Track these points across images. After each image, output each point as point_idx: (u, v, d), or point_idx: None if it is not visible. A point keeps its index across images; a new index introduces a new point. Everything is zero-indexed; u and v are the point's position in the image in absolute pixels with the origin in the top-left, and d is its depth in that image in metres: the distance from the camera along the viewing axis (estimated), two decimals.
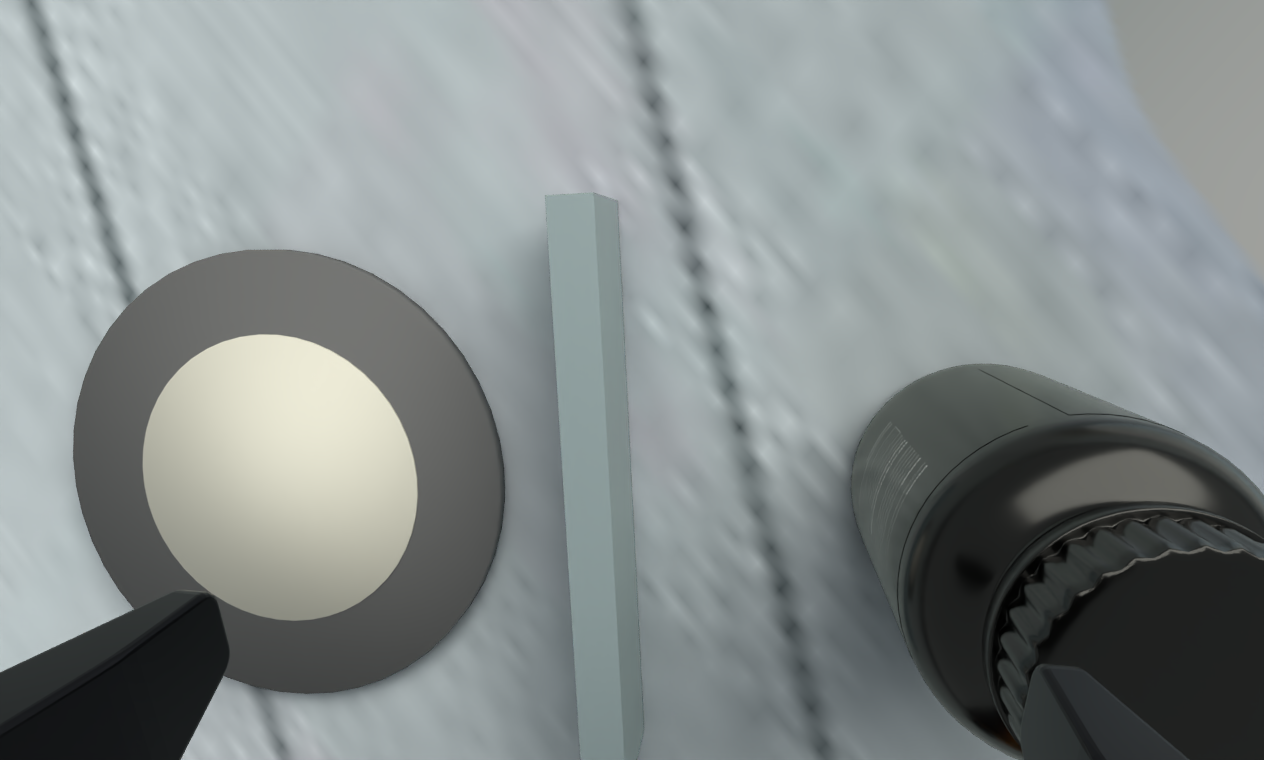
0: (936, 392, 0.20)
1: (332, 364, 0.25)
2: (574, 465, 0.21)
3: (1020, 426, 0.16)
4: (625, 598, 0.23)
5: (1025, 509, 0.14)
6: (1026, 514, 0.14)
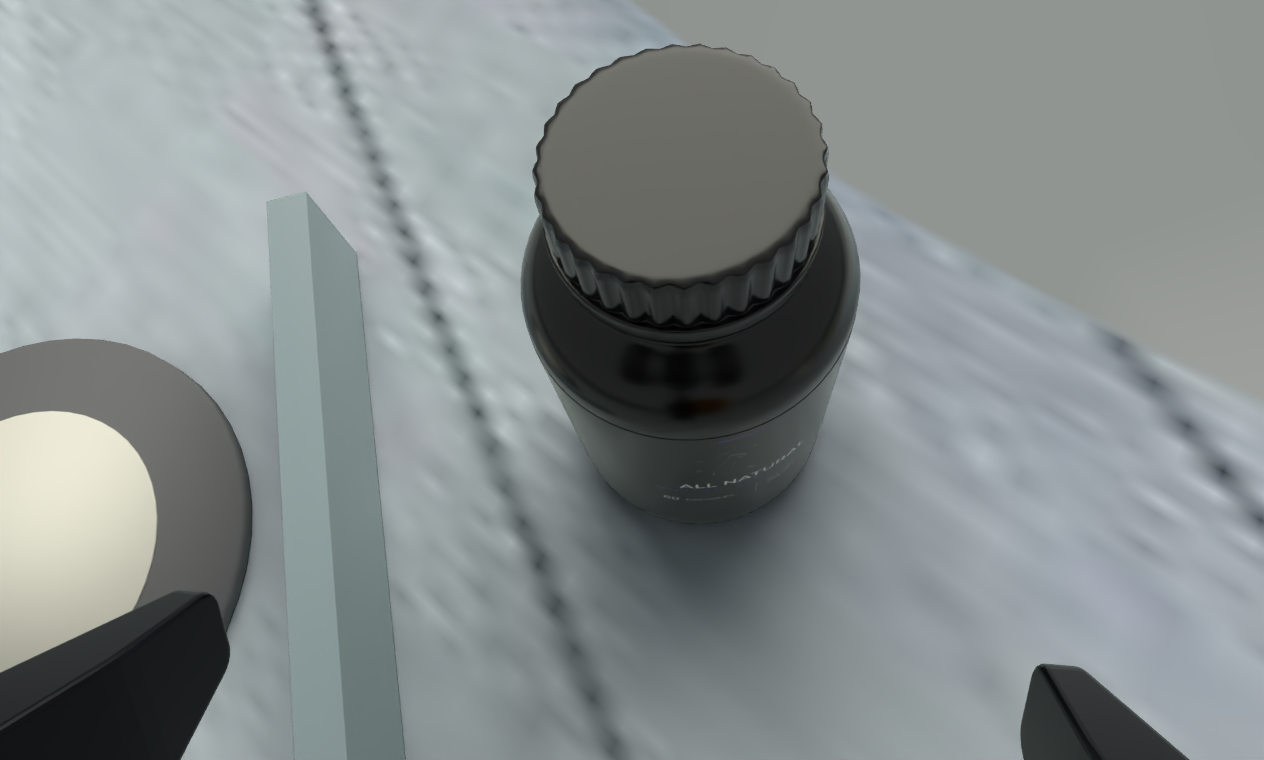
0: None
1: (85, 429, 0.26)
2: (289, 409, 0.22)
3: None
4: (357, 567, 0.22)
5: None
6: None
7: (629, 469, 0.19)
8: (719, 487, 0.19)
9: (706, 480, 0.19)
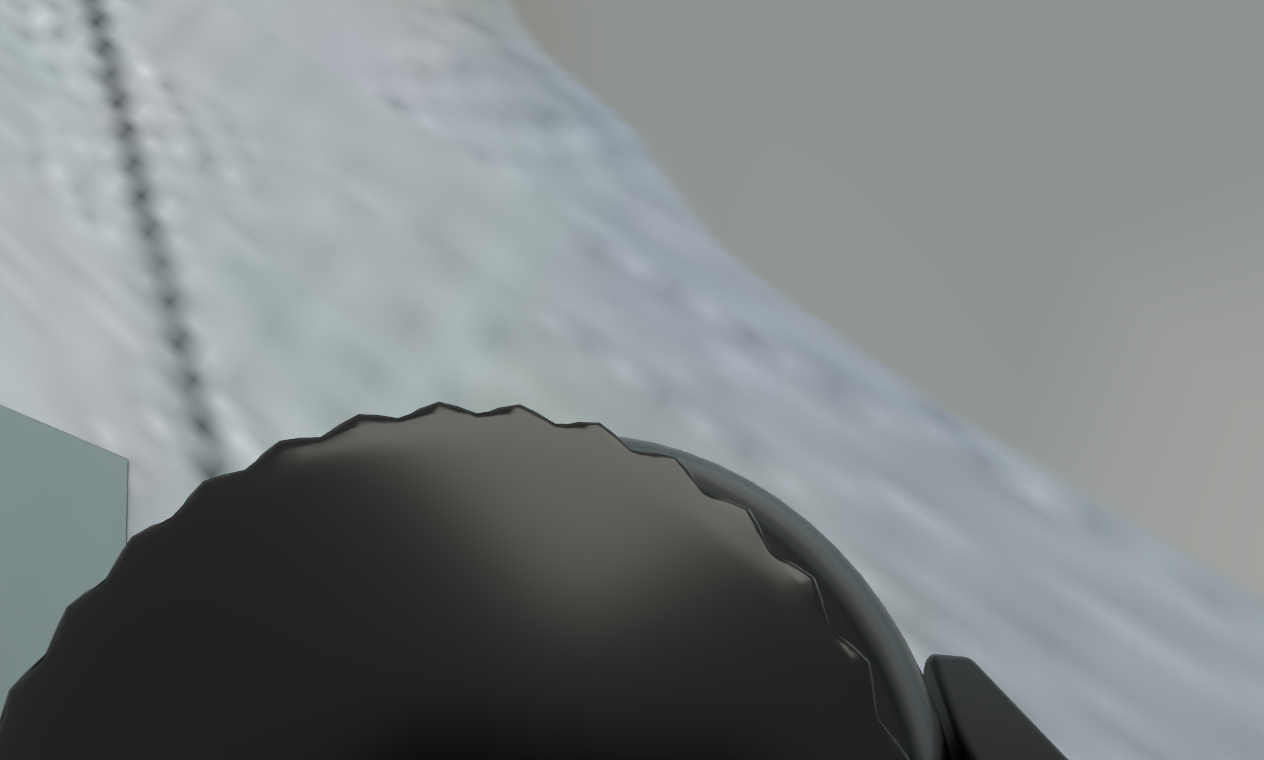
0: None
1: None
2: None
3: None
4: None
5: None
6: None
7: None
8: None
9: None
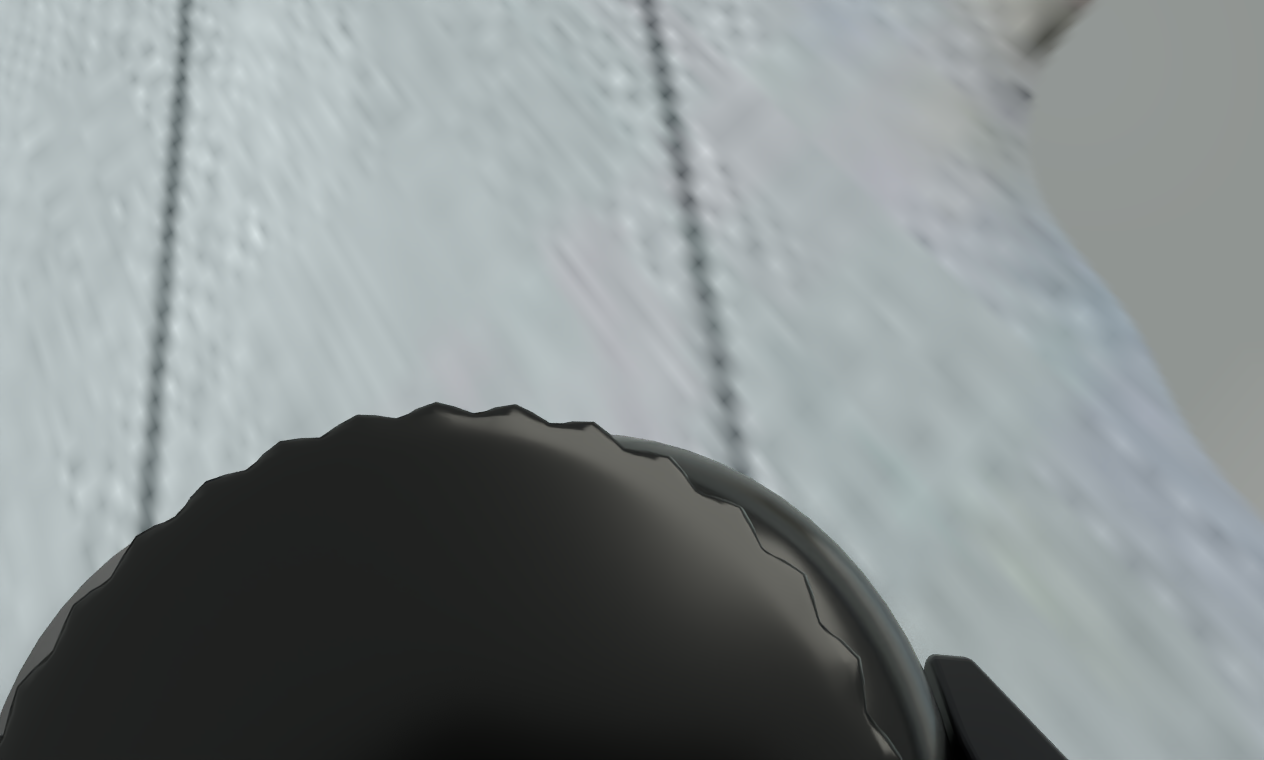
0: None
1: None
2: None
3: None
4: None
5: None
6: None
7: None
8: None
9: None
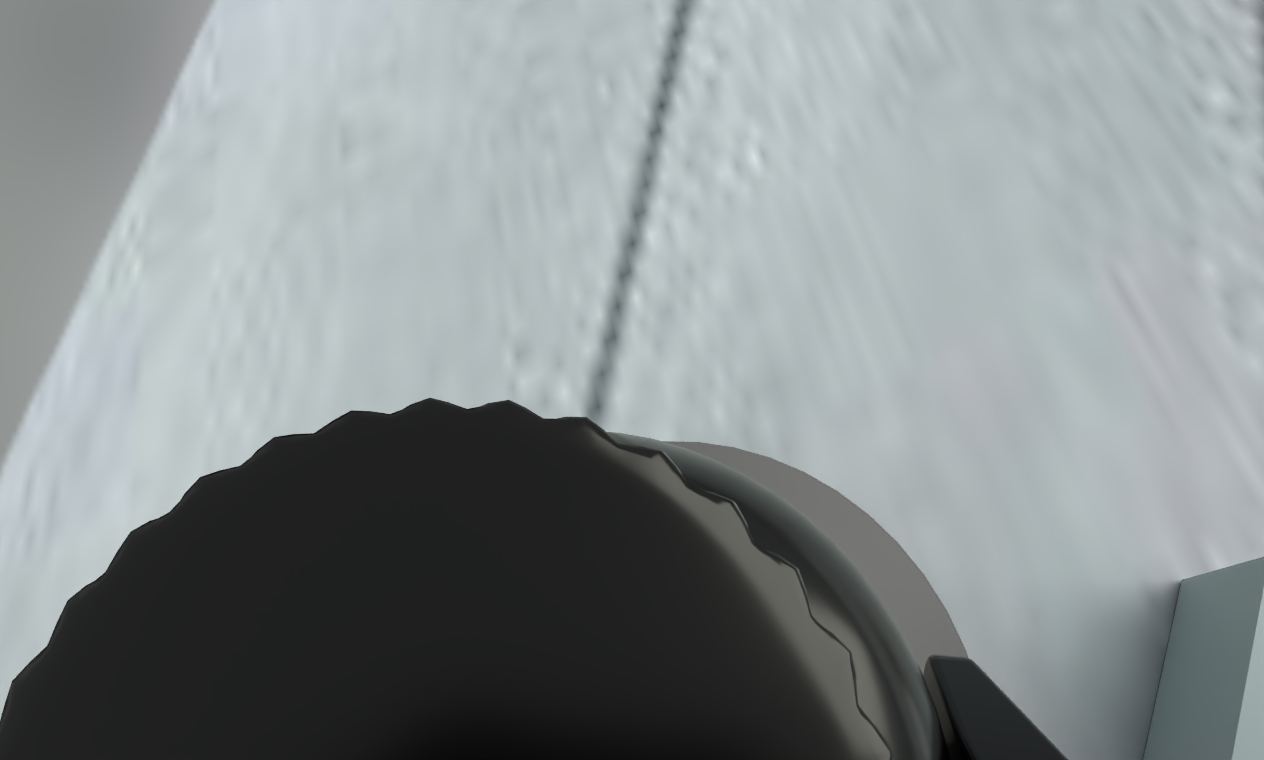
0: None
1: None
2: None
3: None
4: None
5: None
6: None
7: None
8: None
9: None
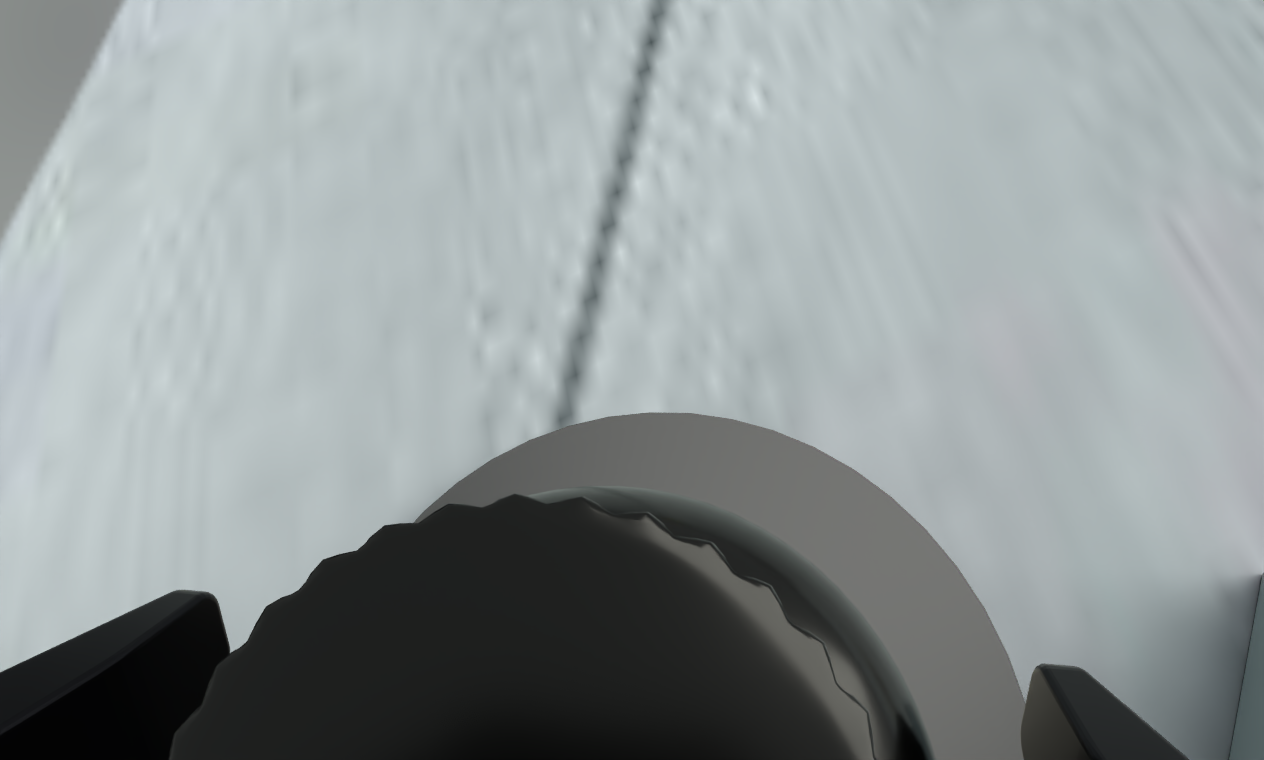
0: None
1: None
2: None
3: None
4: None
5: None
6: None
7: None
8: None
9: None
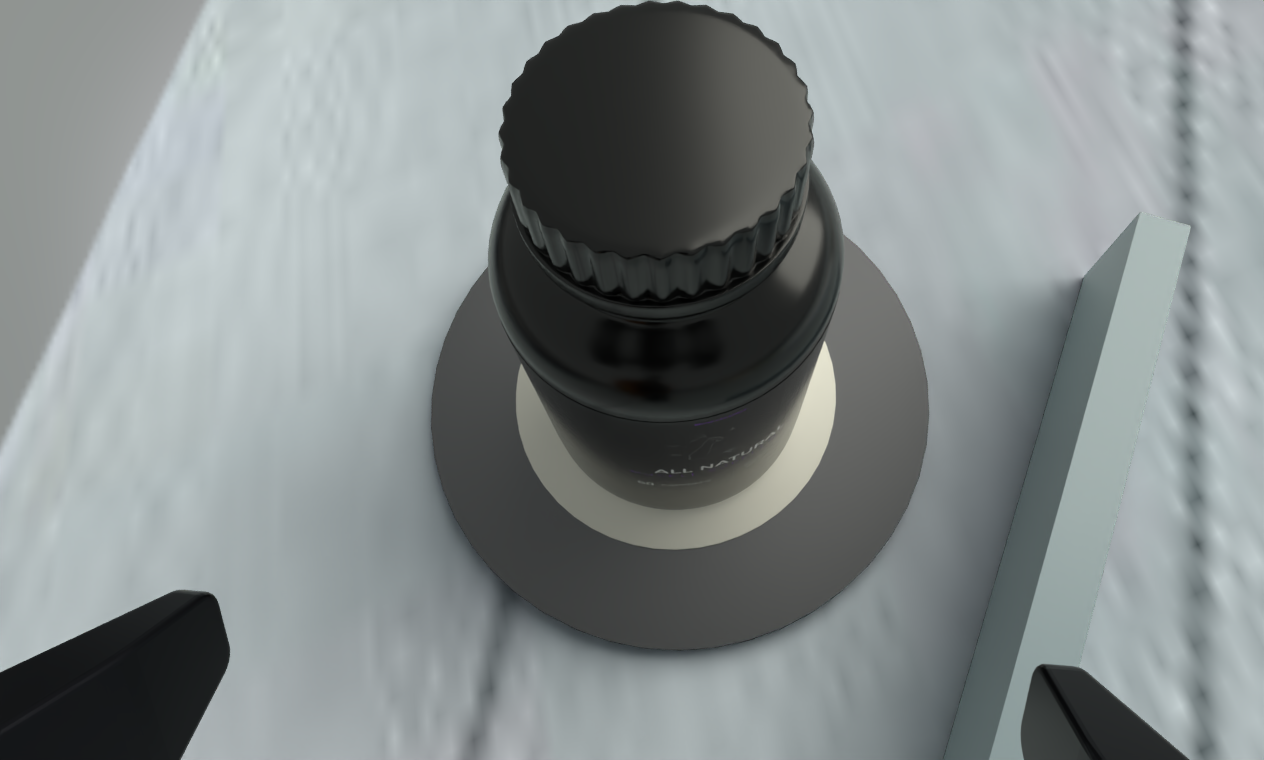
0: None
1: None
2: (1089, 455, 0.19)
3: None
4: None
5: None
6: None
7: (602, 453, 0.18)
8: (695, 472, 0.19)
9: (683, 465, 0.18)
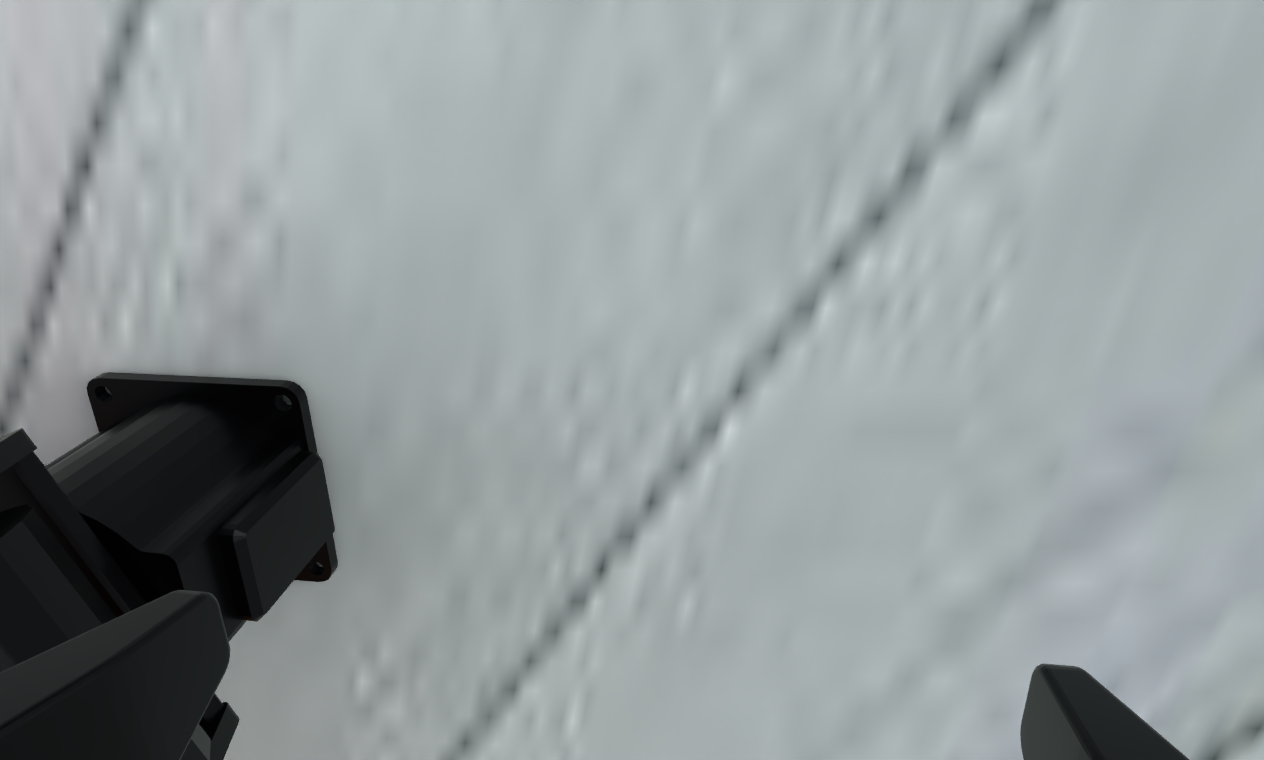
0: None
1: None
2: None
3: None
4: None
5: None
6: None
7: None
8: None
9: None
